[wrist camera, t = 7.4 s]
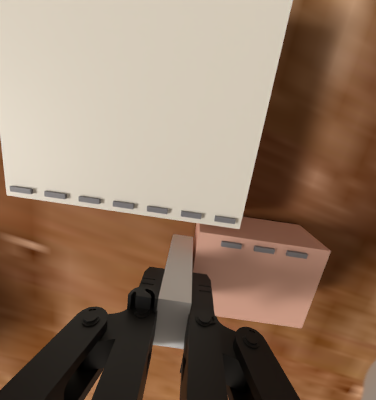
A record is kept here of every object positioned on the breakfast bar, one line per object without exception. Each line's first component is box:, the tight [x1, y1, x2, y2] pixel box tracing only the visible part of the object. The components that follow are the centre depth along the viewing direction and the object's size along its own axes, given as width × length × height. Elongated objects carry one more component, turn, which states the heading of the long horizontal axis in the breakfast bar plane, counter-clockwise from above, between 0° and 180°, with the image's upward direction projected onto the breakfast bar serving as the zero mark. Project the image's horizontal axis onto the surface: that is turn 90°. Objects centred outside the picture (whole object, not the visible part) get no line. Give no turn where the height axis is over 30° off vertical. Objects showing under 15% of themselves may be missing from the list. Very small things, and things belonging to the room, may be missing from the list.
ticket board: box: [0, 0, 293, 229], centre depth 13 cm, size 12×14×4 cm
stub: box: [192, 217, 331, 328], centre depth 15 cm, size 6×8×4 cm
